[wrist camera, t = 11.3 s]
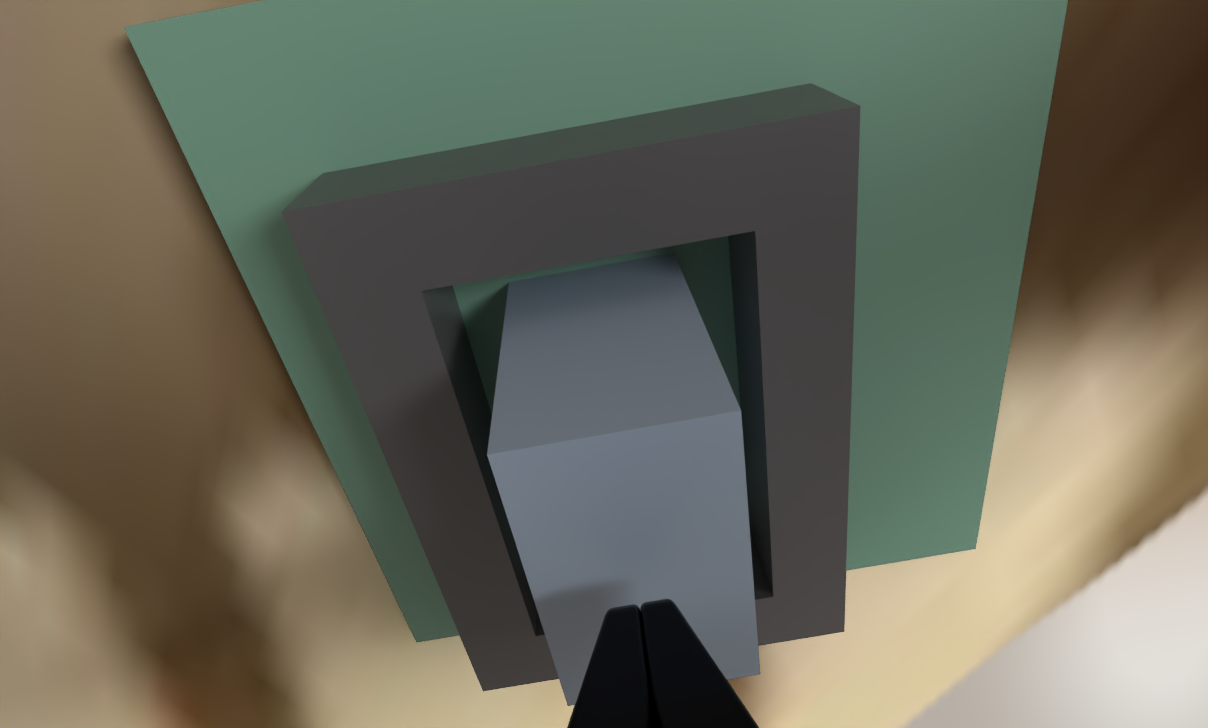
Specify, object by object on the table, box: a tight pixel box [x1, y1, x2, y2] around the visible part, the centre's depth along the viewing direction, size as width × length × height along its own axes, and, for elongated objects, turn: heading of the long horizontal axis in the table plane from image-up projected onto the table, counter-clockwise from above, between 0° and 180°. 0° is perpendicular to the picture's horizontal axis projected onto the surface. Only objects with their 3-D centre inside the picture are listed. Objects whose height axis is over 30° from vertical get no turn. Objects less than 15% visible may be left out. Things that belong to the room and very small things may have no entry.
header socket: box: [282, 83, 861, 691], centre depth 13 cm, size 8×11×2 cm
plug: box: [487, 252, 760, 706], centre depth 12 cm, size 3×6×5 cm, turn 9°
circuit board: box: [124, 0, 1068, 642], centre depth 13 cm, size 14×14×1 cm
